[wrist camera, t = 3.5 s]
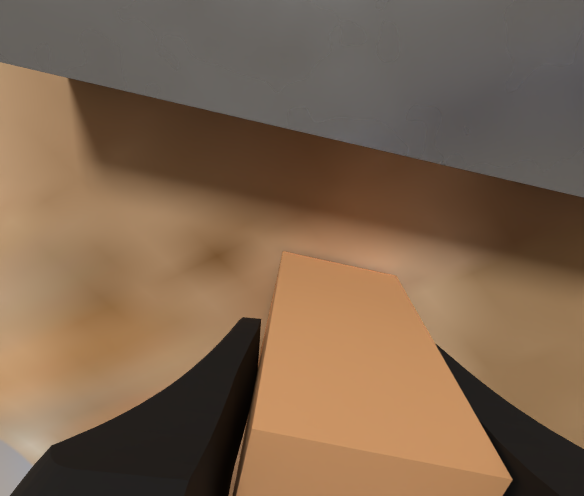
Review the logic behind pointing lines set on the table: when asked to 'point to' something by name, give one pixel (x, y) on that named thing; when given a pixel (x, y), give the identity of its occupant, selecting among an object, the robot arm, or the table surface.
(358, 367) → the tan square post
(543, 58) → the collar
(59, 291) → the table surface
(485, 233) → the table surface
